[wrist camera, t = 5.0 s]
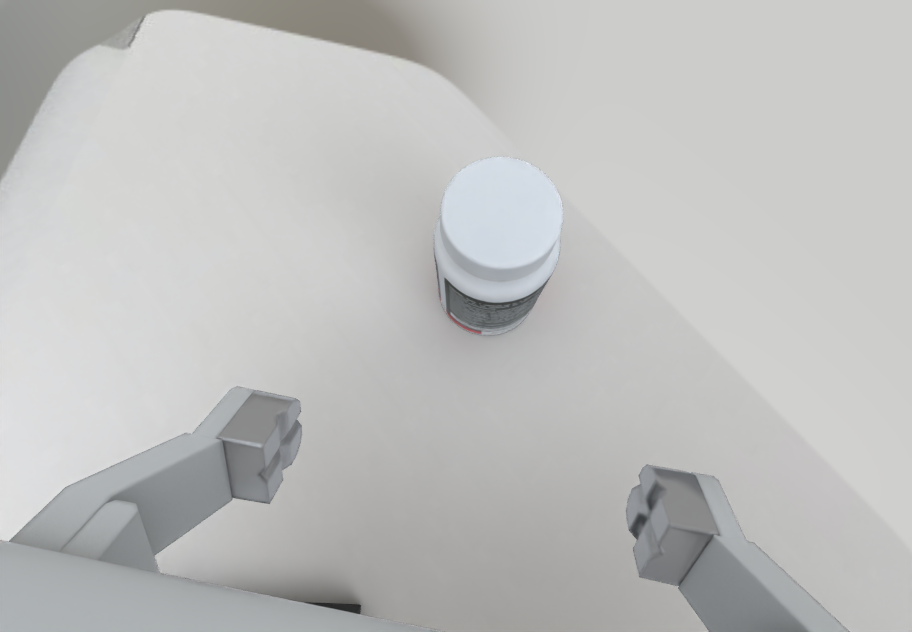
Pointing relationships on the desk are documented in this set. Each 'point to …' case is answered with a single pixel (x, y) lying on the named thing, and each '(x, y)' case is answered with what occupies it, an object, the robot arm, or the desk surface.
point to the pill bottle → (496, 243)
